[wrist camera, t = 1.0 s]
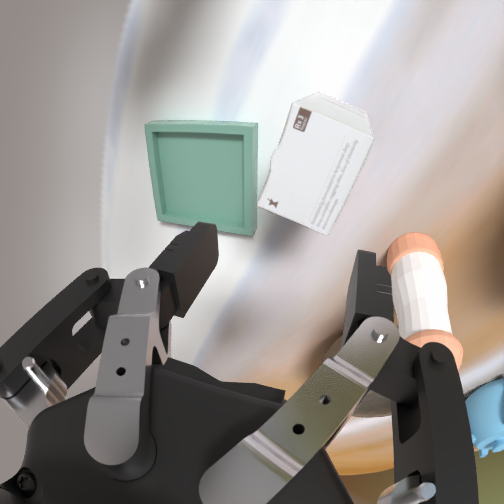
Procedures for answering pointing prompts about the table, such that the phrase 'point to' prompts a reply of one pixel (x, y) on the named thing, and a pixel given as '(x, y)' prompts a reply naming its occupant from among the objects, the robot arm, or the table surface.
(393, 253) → the salt shaker
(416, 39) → the table surface
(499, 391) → the teapot
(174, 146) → the tray
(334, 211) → the skincare box
